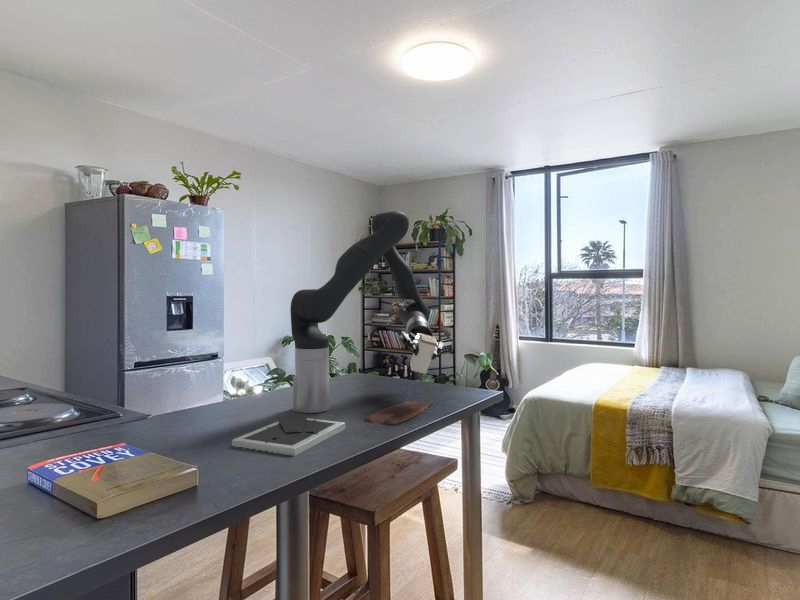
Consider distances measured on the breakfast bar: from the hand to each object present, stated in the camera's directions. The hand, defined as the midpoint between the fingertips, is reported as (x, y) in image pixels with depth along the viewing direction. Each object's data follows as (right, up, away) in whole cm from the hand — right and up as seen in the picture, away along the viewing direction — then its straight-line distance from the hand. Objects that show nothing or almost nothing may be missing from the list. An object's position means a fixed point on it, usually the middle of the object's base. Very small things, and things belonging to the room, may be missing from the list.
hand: (425, 354), depth 138 cm
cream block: (-2, -5, +4) cm, 7 cm away
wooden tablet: (-6, -16, -6) cm, 18 cm away
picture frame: (-32, -16, -29) cm, 46 cm away
